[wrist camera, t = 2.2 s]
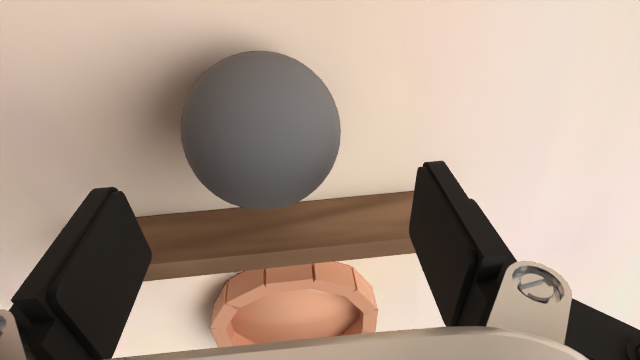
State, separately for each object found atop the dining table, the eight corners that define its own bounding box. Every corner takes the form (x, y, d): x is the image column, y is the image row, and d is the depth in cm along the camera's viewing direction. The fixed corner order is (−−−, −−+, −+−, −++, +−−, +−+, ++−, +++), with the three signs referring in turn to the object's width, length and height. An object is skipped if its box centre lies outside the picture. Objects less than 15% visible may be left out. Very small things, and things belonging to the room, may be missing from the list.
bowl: (198, 267, 23) (193, 291, 21) (375, 249, 23) (382, 271, 22) (233, 353, 30) (231, 375, 28) (367, 337, 30) (372, 358, 29)
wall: (100, 221, 19) (71, 272, 17) (451, 187, 20) (478, 231, 18) (109, 235, 20) (82, 287, 17) (447, 202, 21) (473, 246, 18)
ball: (180, 35, 14) (131, 101, 9) (329, 25, 14) (355, 83, 10) (213, 159, 18) (191, 250, 13) (331, 149, 18) (351, 234, 13)
